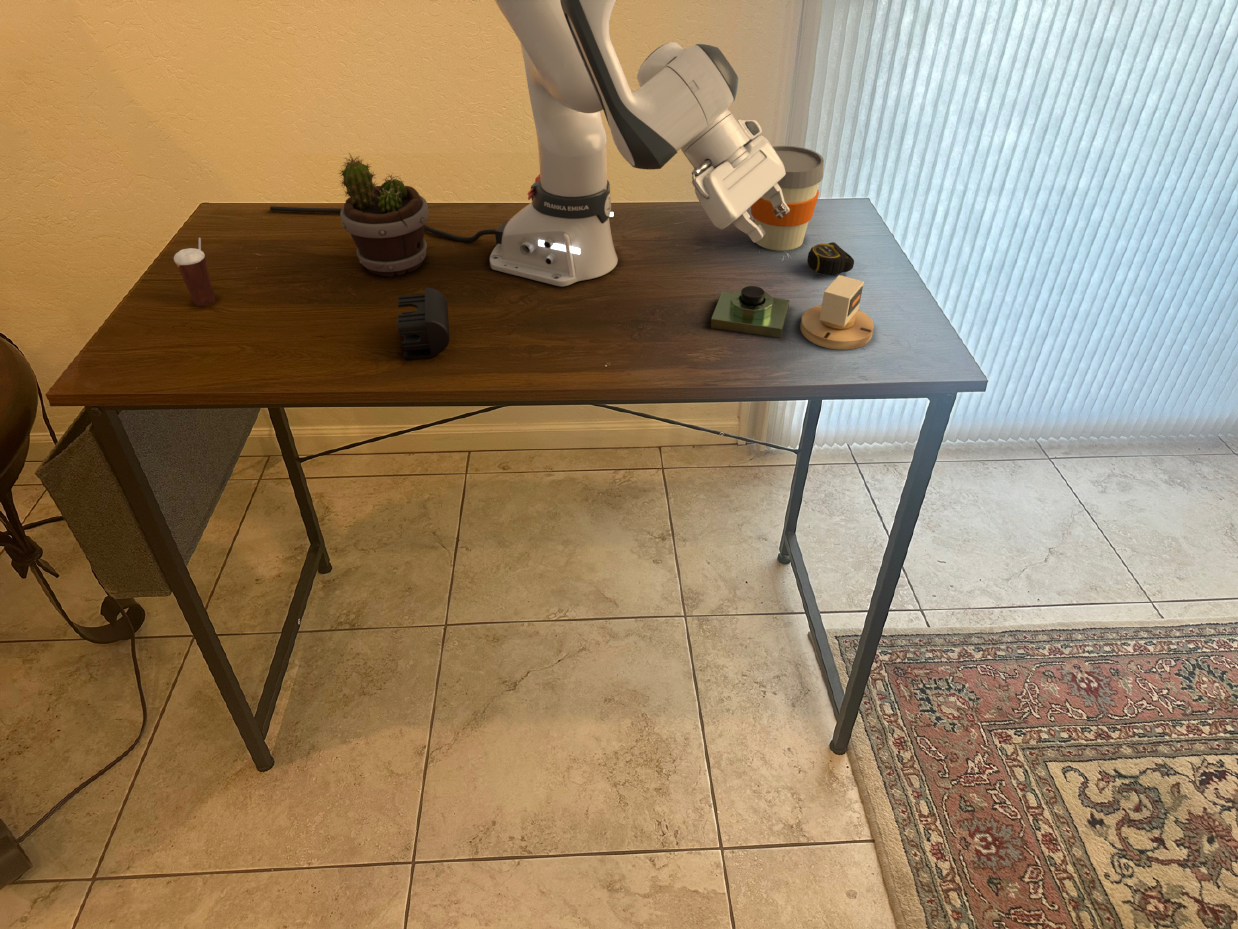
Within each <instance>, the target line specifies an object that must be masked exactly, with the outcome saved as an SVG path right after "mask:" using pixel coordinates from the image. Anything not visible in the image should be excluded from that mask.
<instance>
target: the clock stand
mask: <svg viewBox="0 0 1238 929" xmlns="http://www.w3.org/2000/svg"><path fill="white" fill-rule="evenodd" d="M821 307H822V304H820V305H816V306H815V305H814V306H813V307H810V308H809V309H807V310H806V311H804V313H803V314H802V316H801V320H800V327H799V328H800V333H801V335H803V337H804V338H805V339H807V340H808V341H809V342H811V343H812V344H814V345H816V346H819V347H822V348H824V349H825V348H826V349H831V350H837V351H843V350H844V351H847V350H854V349H858V348H861V347H863V346H866V345H867V344H869V342H870V341H871V339H872V338H873V335H874V334H873V333H874V329H875V324H874V321H873V319H872V318H871V317H870V316H869V315H868V314H867V313H866V312H864V311H862V310H860V309H858V311H857V312H856V313H855V322H854V324H853V326H851V327H849V328H845V329H836V328H832V327H829V326H827V325H825V324H824V323H823V322H822V320H819V319H820V313H821Z"/></svg>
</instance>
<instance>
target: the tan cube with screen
mask: <svg viewBox="0 0 1238 929" xmlns="http://www.w3.org/2000/svg"><path fill="white" fill-rule="evenodd" d="M864 283H865V282H864V281H863V280H858V279H856V278H852V277H848V276H845V275H841V274H838V276H837V277H835V279H834V280H833V281H832V282H831V283H830V284H829V286H827V288H826V289H824V291H823V296H822V303H821V305H822V307H821V313H820V319H819V320H822V322H823V323H824V324H825V325H827V326H829V327H832V328H836V329H845V328H849V327H851V326H853V324H854V322H855V313H856V312H857V311H858V310H860V309H859V308H860V303H861V298H862V293H863V288H864Z"/></svg>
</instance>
